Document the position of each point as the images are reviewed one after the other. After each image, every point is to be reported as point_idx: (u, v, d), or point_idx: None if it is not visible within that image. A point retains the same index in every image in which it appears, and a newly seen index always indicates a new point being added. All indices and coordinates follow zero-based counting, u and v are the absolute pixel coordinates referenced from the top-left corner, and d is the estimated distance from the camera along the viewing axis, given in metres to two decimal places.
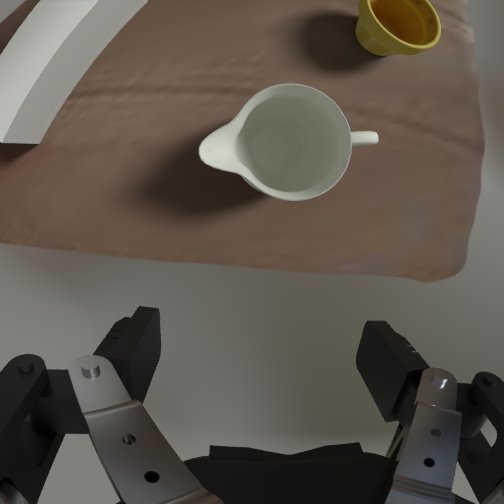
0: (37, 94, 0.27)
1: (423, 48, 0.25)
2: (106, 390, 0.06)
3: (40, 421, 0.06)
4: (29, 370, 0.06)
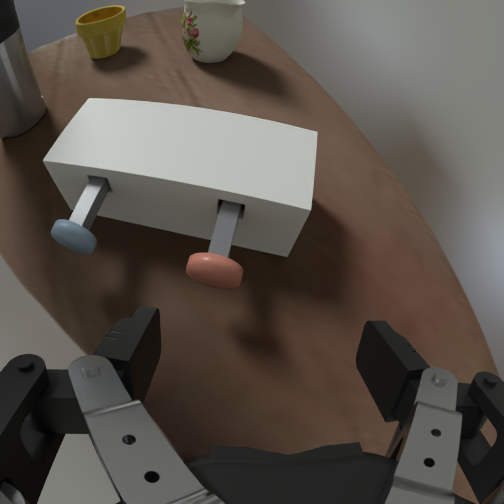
0: None
1: (121, 6, 0.43)
2: (106, 390, 0.06)
3: (40, 421, 0.06)
4: (29, 370, 0.06)
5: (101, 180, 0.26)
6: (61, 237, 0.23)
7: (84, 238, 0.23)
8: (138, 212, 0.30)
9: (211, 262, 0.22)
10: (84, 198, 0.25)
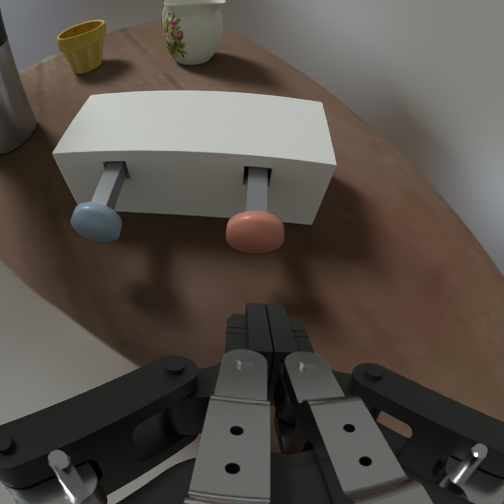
0: None
1: (100, 20, 0.44)
2: (248, 384, 0.07)
3: (168, 423, 0.07)
4: (183, 373, 0.07)
5: (118, 165, 0.25)
6: (83, 223, 0.22)
7: (111, 218, 0.22)
8: (157, 198, 0.30)
9: (255, 218, 0.22)
10: (103, 183, 0.24)
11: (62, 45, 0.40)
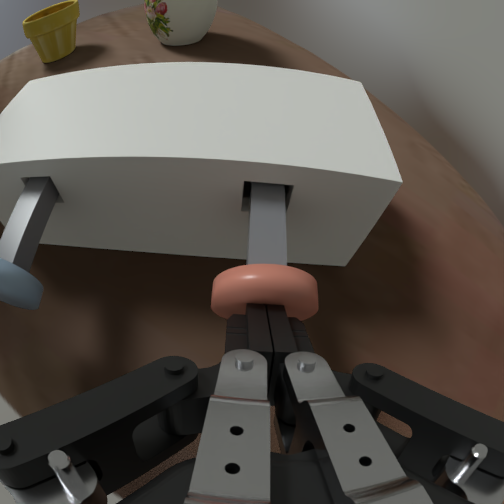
0: None
1: None
2: (248, 384, 0.07)
3: (168, 423, 0.07)
4: (183, 373, 0.07)
5: (42, 182, 0.14)
6: None
7: (15, 283, 0.11)
8: (109, 229, 0.18)
9: (267, 282, 0.11)
10: (16, 214, 0.13)
11: (27, 30, 0.29)
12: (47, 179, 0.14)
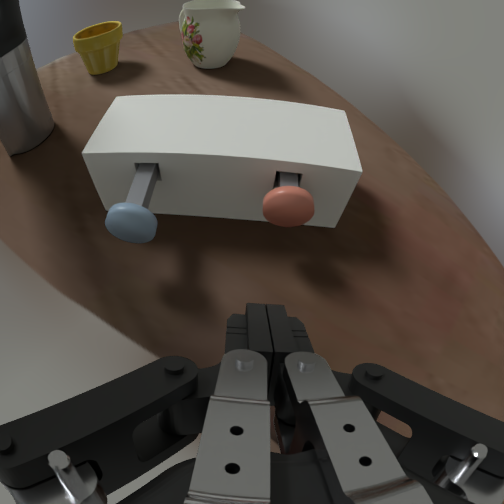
0: None
1: None
2: (248, 384, 0.07)
3: (168, 423, 0.07)
4: (183, 373, 0.07)
5: (151, 166, 0.27)
6: (118, 224, 0.24)
7: (148, 219, 0.23)
8: (187, 200, 0.31)
9: (291, 192, 0.24)
10: (136, 184, 0.26)
11: (78, 45, 0.42)
12: (154, 165, 0.27)
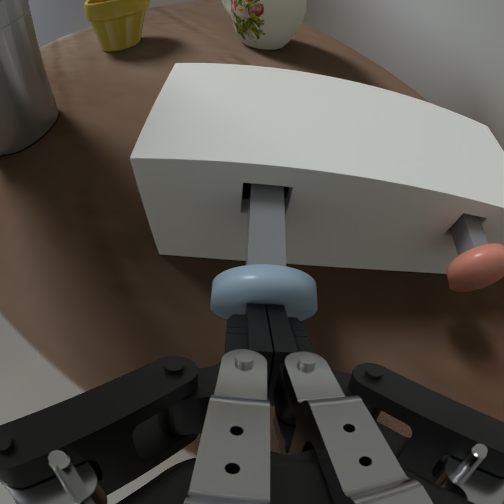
0: None
1: None
2: (248, 384, 0.07)
3: (168, 423, 0.07)
4: (182, 373, 0.07)
5: None
6: (243, 304, 0.12)
7: (315, 297, 0.12)
8: (313, 245, 0.19)
9: (500, 254, 0.13)
10: (260, 215, 0.14)
11: (93, 12, 0.29)
12: None
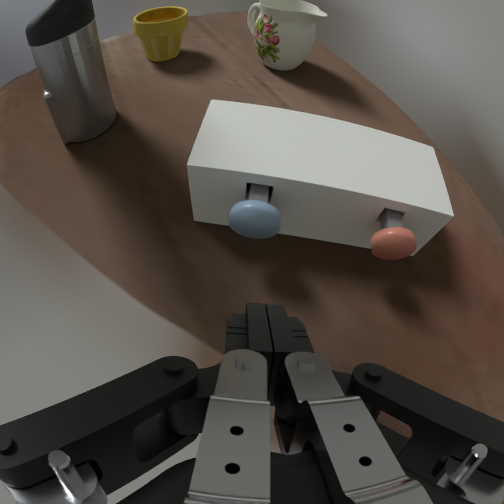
0: None
1: (180, 7, 0.45)
2: (248, 384, 0.07)
3: (168, 423, 0.07)
4: (182, 372, 0.07)
5: None
6: (244, 220, 0.26)
7: (278, 219, 0.25)
8: (288, 221, 0.32)
9: (403, 234, 0.25)
10: None
11: (141, 29, 0.41)
12: None
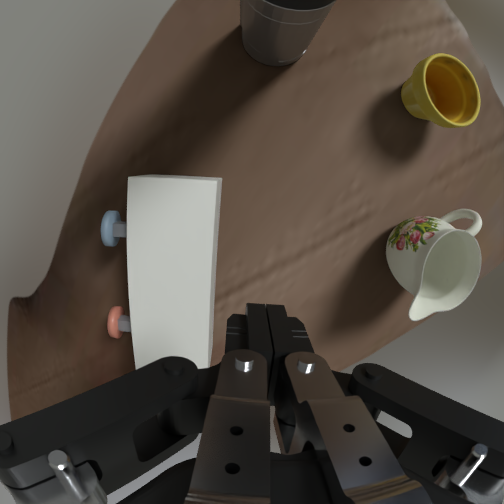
0: None
1: (476, 116, 0.30)
2: (248, 384, 0.07)
3: (168, 423, 0.07)
4: (183, 373, 0.07)
5: None
6: None
7: (105, 245, 0.35)
8: None
9: (109, 328, 0.37)
10: None
11: (419, 66, 0.30)
12: None
